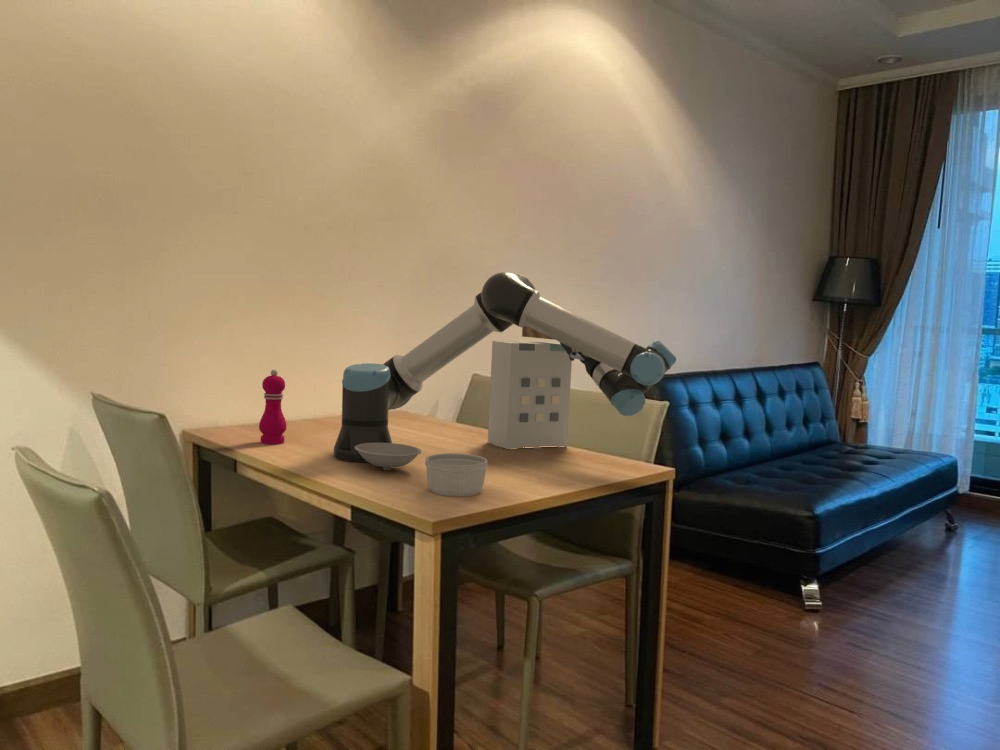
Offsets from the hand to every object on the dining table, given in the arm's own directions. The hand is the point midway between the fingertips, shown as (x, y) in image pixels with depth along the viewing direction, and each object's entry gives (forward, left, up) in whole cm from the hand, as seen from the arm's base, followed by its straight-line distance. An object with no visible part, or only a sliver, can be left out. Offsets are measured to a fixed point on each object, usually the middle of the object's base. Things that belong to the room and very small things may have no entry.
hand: (566, 323), depth 219 cm
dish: (-28, +50, -36) cm, 68 cm away
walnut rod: (+6, +2, -5) cm, 8 cm away
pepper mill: (+7, +79, -36) cm, 88 cm away
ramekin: (-50, +37, -36) cm, 72 cm away
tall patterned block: (+8, +7, -36) cm, 38 cm away
